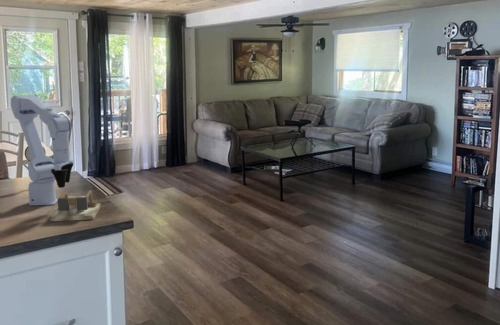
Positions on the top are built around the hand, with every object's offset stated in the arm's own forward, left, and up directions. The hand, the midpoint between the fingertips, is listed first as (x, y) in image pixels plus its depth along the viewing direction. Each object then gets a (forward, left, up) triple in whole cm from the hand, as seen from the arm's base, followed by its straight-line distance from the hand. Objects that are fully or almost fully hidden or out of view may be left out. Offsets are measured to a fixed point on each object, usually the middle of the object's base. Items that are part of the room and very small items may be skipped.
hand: (64, 184), depth 180 cm
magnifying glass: (-20, +36, -10) cm, 42 cm away
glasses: (+5, -5, -7) cm, 10 cm away
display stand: (+5, -6, -10) cm, 12 cm away
